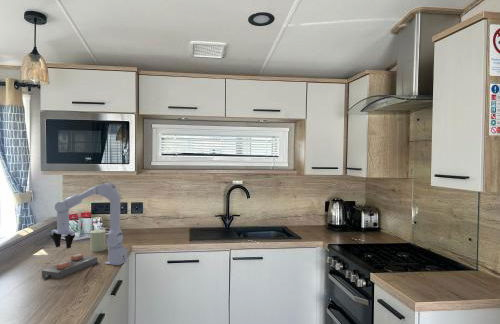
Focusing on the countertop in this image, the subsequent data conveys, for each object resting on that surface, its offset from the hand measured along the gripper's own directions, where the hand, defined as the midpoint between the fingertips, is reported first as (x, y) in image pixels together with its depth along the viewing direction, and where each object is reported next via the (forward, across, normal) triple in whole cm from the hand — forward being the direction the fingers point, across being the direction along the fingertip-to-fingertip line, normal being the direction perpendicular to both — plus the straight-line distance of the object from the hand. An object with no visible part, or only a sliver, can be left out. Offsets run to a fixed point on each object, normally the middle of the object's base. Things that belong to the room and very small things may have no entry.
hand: (63, 247), depth 188 cm
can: (+9, -1, +28) cm, 29 cm away
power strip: (+9, +12, -8) cm, 17 cm away
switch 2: (+5, +10, 0) cm, 11 cm away
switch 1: (+5, +14, -13) cm, 20 cm away
